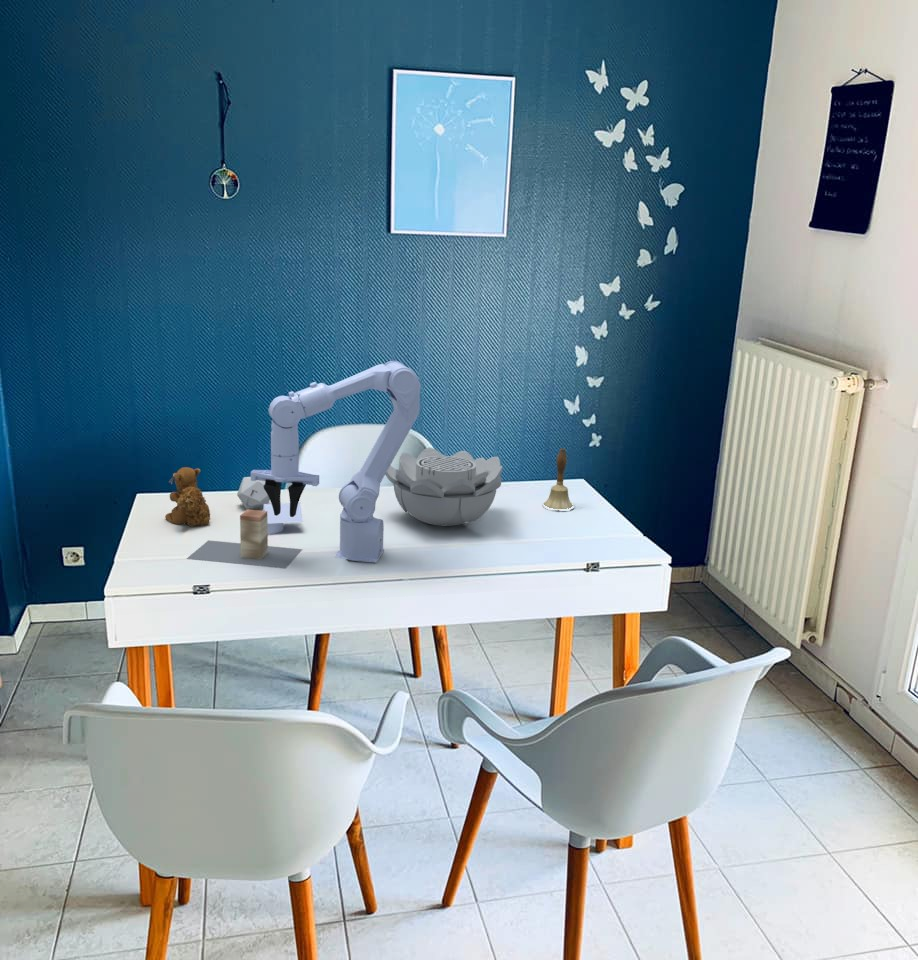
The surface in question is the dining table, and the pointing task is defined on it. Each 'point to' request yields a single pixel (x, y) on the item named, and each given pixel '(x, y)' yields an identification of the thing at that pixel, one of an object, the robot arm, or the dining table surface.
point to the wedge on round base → (281, 517)
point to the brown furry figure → (188, 500)
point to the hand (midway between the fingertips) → (285, 514)
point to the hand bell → (559, 486)
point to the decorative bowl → (445, 486)
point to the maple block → (254, 534)
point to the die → (252, 493)
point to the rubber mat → (232, 554)
